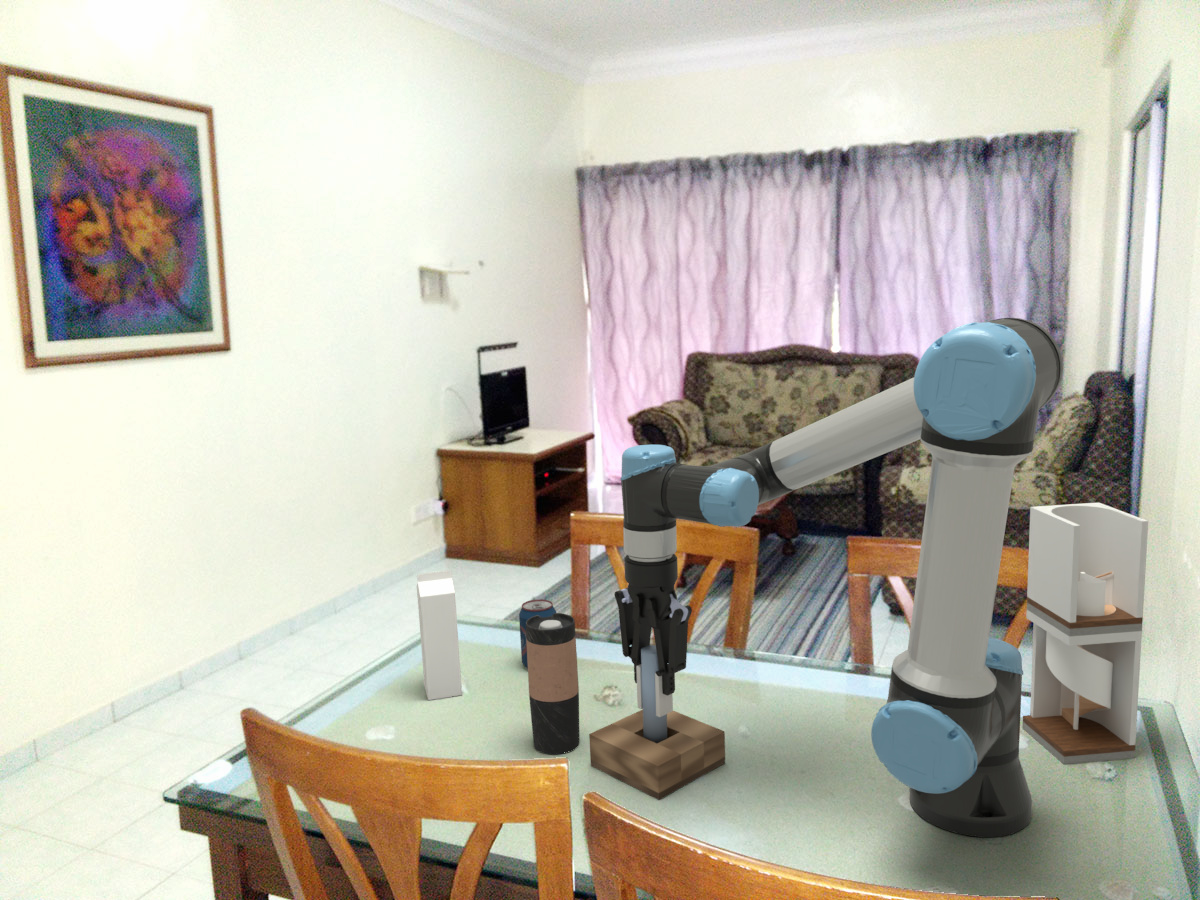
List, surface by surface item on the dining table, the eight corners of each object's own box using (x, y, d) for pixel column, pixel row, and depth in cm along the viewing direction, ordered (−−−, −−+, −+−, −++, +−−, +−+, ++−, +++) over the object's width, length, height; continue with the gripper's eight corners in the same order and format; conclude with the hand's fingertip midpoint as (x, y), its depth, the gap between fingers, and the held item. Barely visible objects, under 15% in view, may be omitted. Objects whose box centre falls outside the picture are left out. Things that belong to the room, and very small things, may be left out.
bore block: (725, 763, 143) (724, 731, 142) (659, 799, 134) (657, 766, 133) (656, 733, 154) (655, 703, 153) (590, 765, 144) (589, 734, 143)
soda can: (519, 661, 185) (515, 600, 183) (555, 656, 187) (552, 596, 184) (525, 675, 178) (521, 612, 176) (562, 670, 180) (559, 608, 178)
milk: (462, 695, 171) (454, 574, 167) (427, 701, 169) (418, 579, 165) (457, 682, 177) (449, 565, 173) (423, 687, 175) (415, 569, 171)
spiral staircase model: (1022, 728, 150) (1030, 506, 144) (1088, 722, 151) (1099, 502, 145) (1063, 764, 139) (1074, 525, 133) (1134, 758, 140) (1148, 521, 134)
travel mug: (563, 760, 146) (556, 633, 143) (522, 748, 150) (514, 625, 147) (590, 738, 153) (584, 616, 149) (550, 728, 157) (544, 609, 153)
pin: (672, 740, 143) (670, 649, 141) (655, 748, 141) (652, 656, 138) (655, 732, 146) (653, 643, 143) (638, 740, 143) (635, 650, 141)
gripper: (711, 559, 135) (714, 717, 139) (629, 539, 147) (634, 685, 151) (674, 571, 130) (678, 735, 134) (592, 549, 142) (598, 701, 146)
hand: (655, 709), depth 142 cm, fingers closed on pin, 3 cm apart
